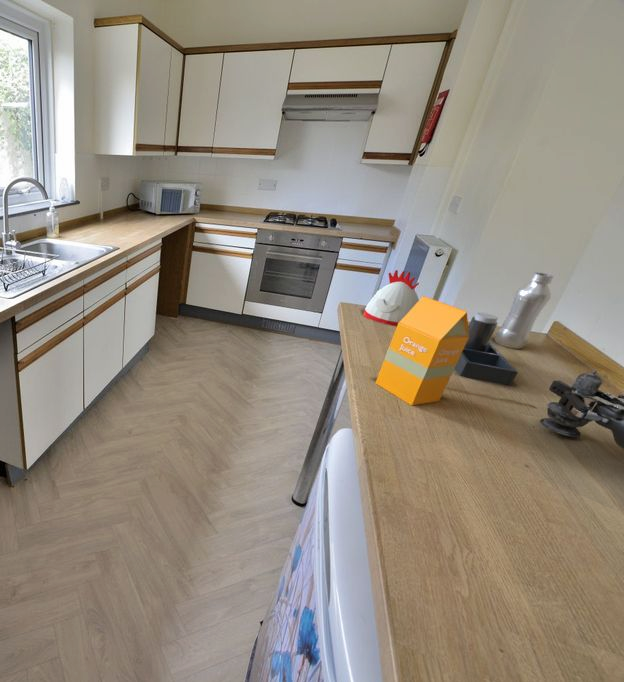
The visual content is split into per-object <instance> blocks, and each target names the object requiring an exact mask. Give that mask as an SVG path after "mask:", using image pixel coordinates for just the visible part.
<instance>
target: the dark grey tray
mask: <svg viewBox="0 0 624 682" xmlns="http://www.w3.org/2000/svg"><path fill="white" fill-rule="evenodd" d="M454 370H456V372H457V373H458V375H459V376H460V377H463V378H469V379H473V380H478V381H483V382H488V383H494V384H498V385H503V386H509V387H511V386H512V384H513V382H514V380H515V378H516V377H517V374H518V373H519V372H518V370H517V369H516V368H515V367H514V366H513V365H512V364H511V363H510V362H509V361H508V360H507V358H505V357H504V356H503V354H502V353H501V352H500V351H499V350H498V349H497V348H496V347H495V346H494V345H493V344H492V342H490V341H489V342H488V344H487V346H486V349H485V351H484V352H482V351H477V350H471V349H466V348H464V349H463V351H462V353H461V355H460V357H459V360H458V362H457V364H456V367H455V369H454Z"/></svg>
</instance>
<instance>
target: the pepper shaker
mask: <svg viewBox="0 0 624 682" xmlns="http://www.w3.org/2000/svg"><path fill="white" fill-rule="evenodd" d="M498 319H499V318H498V316H496V315H493V314H491V313H486V312H476V314H475V316H472V317H471V319H470V322H468V330H469V338H468V340H467V343H466V345H465V347H464V348H466V349H471V350H477V351H482V352H484V351H485V349H486V346H487V344H488V342H490V341H491V339H492V337H493V334H494V332H495V330H496V329H497V326H498V324H499V323H498V322H497V321H498Z"/></svg>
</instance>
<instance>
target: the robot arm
mask: <svg viewBox="0 0 624 682" xmlns="http://www.w3.org/2000/svg"><path fill="white" fill-rule="evenodd" d="M548 390H549V391H550V392H551V393H553V394H555V395H556V396H558V397H560V398H559V400H558V401H557V402H558V405H559V406H560V407H561V408H562V409H563V410H564V411H565V412H566V413H567V414H568V415H569V416H570V417H571V418H572V419H573V420H575V421H578V422H582V420H583V419H584V418H586V419H591V420H593V421H594V422H595V423H596V424H597V425H599V426H601V427H602V428H605V429H607V430H609V431H611V433H612V436H613V440H614V442H615V444H616V445H617V446H618V447H619V448H620V449H623V450H624V395H623V394H622V395H621V394H619V395H618V396H616V395H614V394H613V393H611V392H608V391H607V392H606V391H605V392H603V391H602V390H600V389H598V390H597V392H596V393H595V396H588V395H586V394H584V393H582V392H580V391H578V390H576V389H574V388H572V385H569V384H567V383H565V382H564V381H562V380H553V381H552V383H551V385H550V386H549V389H548ZM579 398H582V399H584V403H583V402H582V401H581V400H580V399H579Z"/></svg>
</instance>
